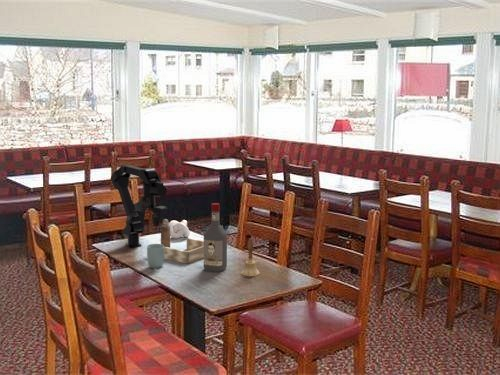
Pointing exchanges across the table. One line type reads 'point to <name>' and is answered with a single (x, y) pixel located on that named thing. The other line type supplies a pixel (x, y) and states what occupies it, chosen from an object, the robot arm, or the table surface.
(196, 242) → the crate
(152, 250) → the cup
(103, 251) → the table surface
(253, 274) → the hand bell
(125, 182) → the robot arm
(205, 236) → the liquor
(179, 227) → the white knot sculpture
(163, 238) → the pepper mill
